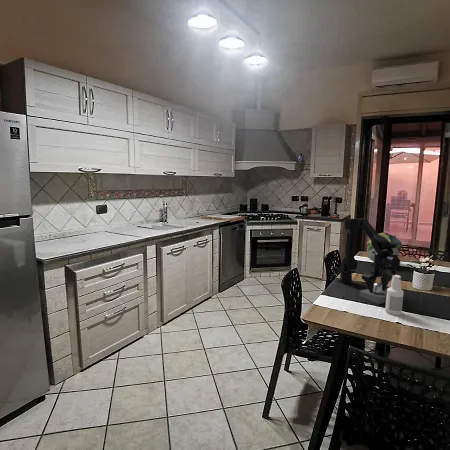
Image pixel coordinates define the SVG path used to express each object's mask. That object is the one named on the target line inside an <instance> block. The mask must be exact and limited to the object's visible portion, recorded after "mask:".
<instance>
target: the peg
mask: <svg viewBox="0 0 450 450" xmlns="http://www.w3.org/2000/svg"><path fill="white" fill-rule="evenodd" d="M381 293H382V284H381V282H376V283H375V284H374V286H373V294H376V295H381Z"/></svg>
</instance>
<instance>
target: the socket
mask: <svg viewBox="0 0 450 450" xmlns="http://www.w3.org/2000/svg"><path fill="white" fill-rule="evenodd" d="M358 295H359V297H361V298H363V299H365V300H367V301H371V302H373V303H375V304H377V305H380V304H384V303H385V304H386V297H387V290H385V291H383V290H382V293H381V295H376V294H373V292H372V293H370V291H369V289H368V288H367V289H362V290H359V294H358Z"/></svg>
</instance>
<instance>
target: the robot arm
mask: <svg viewBox="0 0 450 450" xmlns="http://www.w3.org/2000/svg"><path fill="white" fill-rule="evenodd" d="M360 228H361V230H362V231H363V232H364V234H366V236H367V237H368V239H369V240H371V245H372V246H373V248H374V249H375V250H374V251H372V253H374V254H375V255H374V262H373V263H371V267H373V268H372V271H370V273H368V272H367V273H363V274H362V275H361V280H363V281H364V282H365V284H366V286H367V289H369V291H370V293H372V292H373V287H374V284H375V283H377V279H379V278H380V283H381V284H382V290H383V291H386V290H387V287H388V284H389V283H390V282H391V281H392V277H393V276H394V275H398V271H397V270H396V269H398V268H399V267H400V265H401V261H400V260H401V259H400V258H399V257H397V255H396V254H394V252H393V249H392V247H391V245H390V242H389V241H388V240H387V239H386V238H385V237H383V236H381V235H379V233H378V231H377V230H376V229H375V228H374V227H373V226H372V224H370V222H369V220H368V219H367V218H366V217H365V218H355V217H354V218H346V219H345V221H344V230H345V232H346V244H345V256H344V257H343V259H342V260H341V264H340V266H339V267H337V272H338V273H339V280H337V282H339V283H342V284H344V285H350V284H351V285H352V284H354V282H353V274H355V273H356V270H357V268H358V263H359V262H358V260H356V259H355V250H356V238H357V233H358V232H359V230H360ZM382 250H388V251H382ZM389 268H392V269H393V270H391V269H389Z"/></svg>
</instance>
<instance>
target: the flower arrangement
mask: <svg viewBox="0 0 450 450" xmlns="http://www.w3.org/2000/svg"><path fill="white" fill-rule="evenodd" d="M378 234H379V235H381V236H383V237H385V238H386V239H387V240H388V241H389V242H390V245H391V247H392V249H393V252H394V254H396V255H397V257H398V258H399V257H400V251H401V252H402V251H403V249H402V247H403V244H402V241H401V240H400V239H399V238H397V235H396V234H393V235H392V234H390V233H388V232H381V233H378ZM366 244H368V245H367V249H366V250H367V251H366V254H367V255H366V256H367V259H368V258H369V260H370V261H372V262H373V263H374V255H375V254H374V253H372V251H374V250H375V249H374V248H373V246H372V245H371V240H370V239H368V240H367V241H366ZM382 251H388V250H382Z"/></svg>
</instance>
